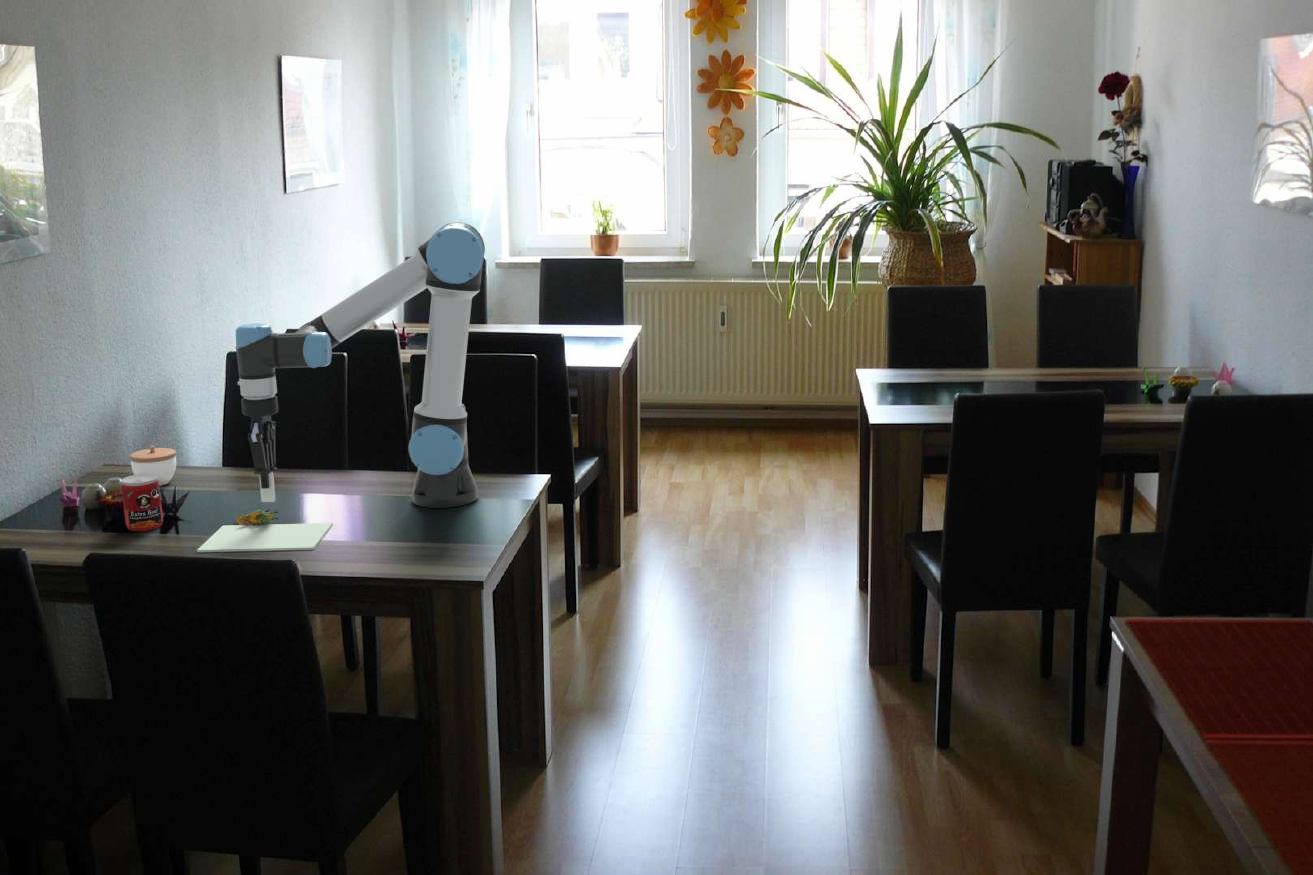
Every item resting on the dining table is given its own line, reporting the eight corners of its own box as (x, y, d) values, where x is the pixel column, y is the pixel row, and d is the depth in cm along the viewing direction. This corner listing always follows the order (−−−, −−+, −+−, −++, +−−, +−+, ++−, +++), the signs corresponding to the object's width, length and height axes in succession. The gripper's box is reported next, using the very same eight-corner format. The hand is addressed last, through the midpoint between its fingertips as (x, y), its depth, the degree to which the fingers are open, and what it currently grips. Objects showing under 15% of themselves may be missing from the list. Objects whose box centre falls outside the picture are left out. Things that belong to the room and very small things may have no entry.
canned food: (128, 533, 278) (122, 484, 276) (124, 524, 285) (118, 476, 283) (165, 528, 282) (160, 480, 279) (161, 519, 289) (155, 471, 286)
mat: (332, 525, 282) (332, 522, 281) (313, 549, 265) (313, 547, 265) (223, 527, 281) (222, 525, 281) (197, 552, 265) (196, 550, 265)
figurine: (287, 522, 282) (256, 529, 276) (254, 520, 290) (223, 527, 283) (285, 508, 282) (254, 515, 275) (252, 506, 289) (221, 513, 283)
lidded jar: (169, 488, 314) (165, 451, 312) (125, 489, 314) (121, 452, 312) (185, 477, 325) (181, 441, 322) (143, 477, 325) (139, 441, 323)
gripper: (250, 390, 283) (260, 493, 288) (232, 402, 270) (242, 509, 276) (284, 389, 283) (293, 492, 288) (267, 401, 270) (277, 509, 276)
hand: (268, 501), depth 282 cm, fingers closed
